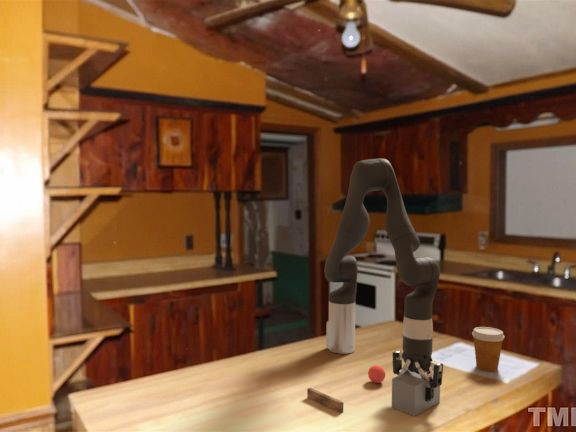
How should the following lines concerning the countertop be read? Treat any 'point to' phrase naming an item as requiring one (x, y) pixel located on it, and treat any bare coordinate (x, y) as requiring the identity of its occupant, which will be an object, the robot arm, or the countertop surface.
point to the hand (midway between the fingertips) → (416, 396)
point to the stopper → (325, 400)
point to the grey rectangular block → (412, 394)
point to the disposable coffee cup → (487, 347)
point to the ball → (376, 374)
